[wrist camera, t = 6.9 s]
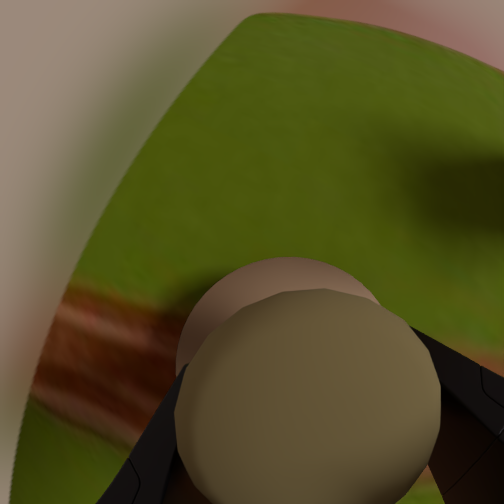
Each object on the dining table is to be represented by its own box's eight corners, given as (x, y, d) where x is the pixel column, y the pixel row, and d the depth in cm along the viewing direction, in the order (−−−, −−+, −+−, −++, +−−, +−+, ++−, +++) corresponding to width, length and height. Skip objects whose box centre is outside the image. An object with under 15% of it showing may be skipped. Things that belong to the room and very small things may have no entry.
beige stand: (356, 463, 16) (368, 480, 13) (174, 429, 18) (158, 442, 15) (392, 286, 19) (410, 277, 16) (213, 254, 21) (203, 239, 18)
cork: (205, 352, 15) (66, 359, 4) (311, 290, 15) (377, 178, 5) (267, 453, 13) (247, 609, 3) (372, 391, 14) (522, 448, 3)
